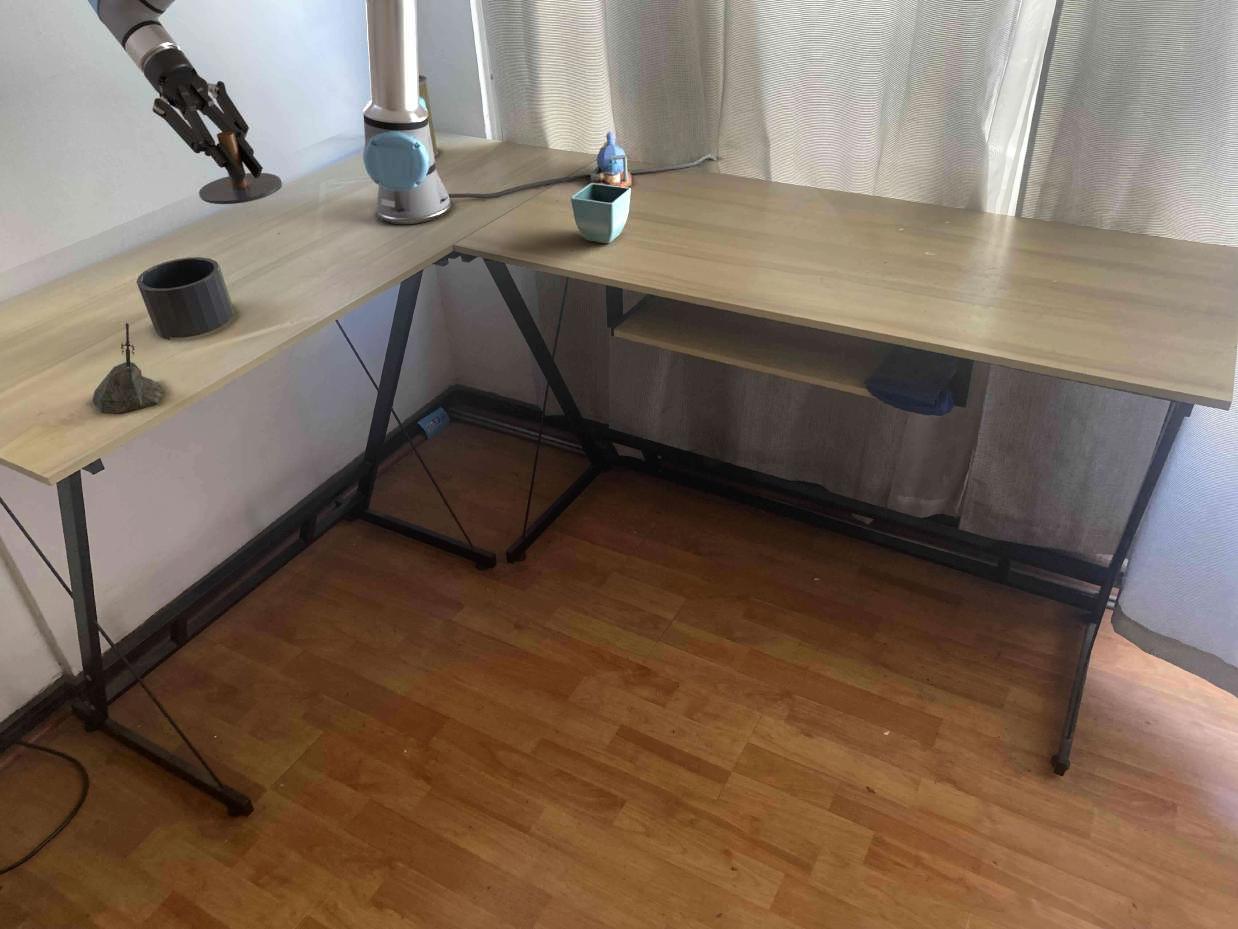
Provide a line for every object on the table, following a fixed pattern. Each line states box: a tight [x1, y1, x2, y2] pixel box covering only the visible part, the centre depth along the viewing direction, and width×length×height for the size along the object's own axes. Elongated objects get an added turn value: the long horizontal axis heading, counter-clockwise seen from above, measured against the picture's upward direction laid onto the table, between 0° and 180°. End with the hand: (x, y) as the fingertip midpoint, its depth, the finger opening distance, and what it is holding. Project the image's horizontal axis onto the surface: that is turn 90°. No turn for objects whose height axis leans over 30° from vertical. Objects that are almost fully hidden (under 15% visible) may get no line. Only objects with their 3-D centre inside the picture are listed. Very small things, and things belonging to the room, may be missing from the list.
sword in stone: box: [92, 322, 164, 414], centre depth 134 cm, size 10×8×12 cm
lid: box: [198, 131, 283, 205], centre depth 157 cm, size 14×14×10 cm
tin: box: [136, 256, 235, 341], centre depth 154 cm, size 13×13×9 cm
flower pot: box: [570, 183, 632, 244], centre depth 175 cm, size 9×9×9 cm
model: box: [589, 131, 633, 188], centre depth 201 cm, size 12×9×9 cm
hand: (250, 176), depth 156 cm, fingers closed on lid, 3 cm apart
